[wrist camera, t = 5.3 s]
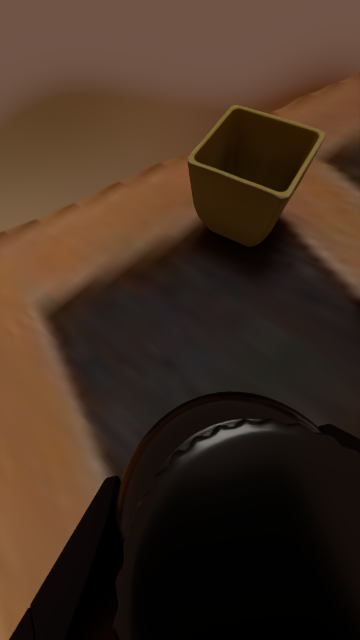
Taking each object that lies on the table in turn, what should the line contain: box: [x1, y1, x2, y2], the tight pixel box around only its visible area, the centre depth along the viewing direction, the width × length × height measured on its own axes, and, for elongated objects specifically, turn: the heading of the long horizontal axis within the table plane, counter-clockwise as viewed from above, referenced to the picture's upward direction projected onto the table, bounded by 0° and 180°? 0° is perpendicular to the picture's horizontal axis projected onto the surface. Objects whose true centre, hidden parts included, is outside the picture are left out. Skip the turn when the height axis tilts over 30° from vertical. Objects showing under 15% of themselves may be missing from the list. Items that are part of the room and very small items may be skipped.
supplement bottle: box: [112, 391, 360, 640], centre depth 9 cm, size 7×7×12 cm
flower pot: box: [188, 105, 326, 247], centre depth 26 cm, size 9×9×9 cm
